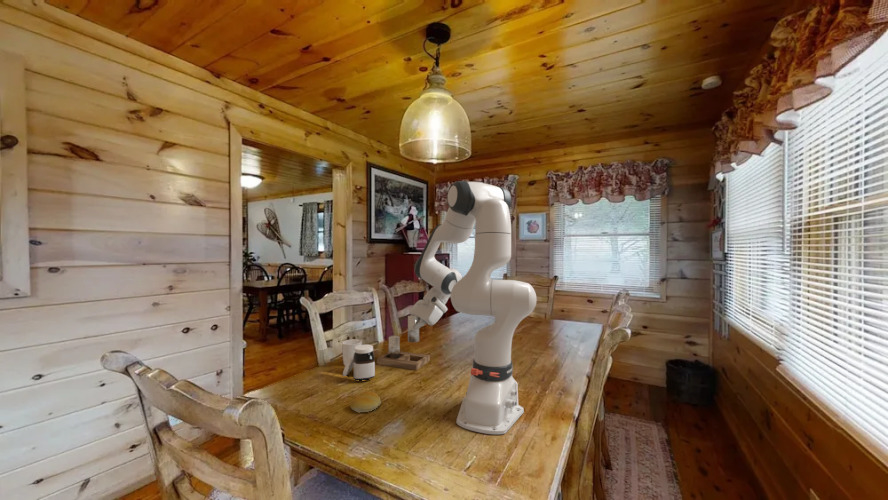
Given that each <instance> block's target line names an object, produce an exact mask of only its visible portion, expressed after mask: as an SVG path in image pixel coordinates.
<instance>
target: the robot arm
mask: <svg viewBox="0 0 888 500" xmlns="http://www.w3.org/2000/svg"><path fill="white" fill-rule="evenodd" d="M446 200H447V201H446V202H447V205H448V209H447V212H446V214H445V218H444V220H443V222H442V223H439V224H437V225H436V226H435V227H434V228H433V230H432V232H431V234H430V235H429V237H428V239H427V242H426V244H425V246H424V248H423V250H422V252H421V254H420V256H419V257H418V259H417V260H416V262H415V263H414V274H415V276H416V277H417V278H419V279H421V280H422V281H424V282H426V283H427V284H429V285H431V286H432V287H431V288H430V289H429V290H428V291H427V292H426V294H425V295H424V296H423V299H419V300H418V301H416V302H415V303H414V305H413V306H412V307H411V308H410V309H409V311H408V313H409V314H410V315H416V316H418V317H419V322H418V323H417V324H415V325H414V327H413V328H414V329H415V330H418V329H419V330H420V328H422V327H423V326H425V324H427V325H429V326H434V325H435V324H436V323H437V322H438V321H439V320H440V319H441V317H443V315H444V314H445V313H446V312H447V311H448V310H449V309H448V307H447V305H446V304H447V303H448V300H449V299H450V302H451V305H452V307H453V308H454V310H455V311H456V312H458V313H461V314H467V315H469V316H489V317H490V316H491V317H493V318H494V322H492V323H491V324H488V325H487V326H484V327H482V328H481V329H479V330H478V331H477V332H476V334H475V335H474V340H473V341H474V345H473V346H474V347H473V348H474V352H473V353H474V354H473V355H474V357H473V361H472V364H471V365H472V366H471V369H470V375H469V383H468V386H467V390H466V392H465V396H464V397H463V399H462V402H461V405H460V408H459V411H458V414H457V417H456V422H455V424H457V425H458V426H459V427H461V428H463V429H465V430H468V431H472V432H476V433H481V434H487V435H504V434H506V433H507V432H509V430H510V429H511V428H512V427H513V425H514V424H516V422H517V421H518V420H519V419H520V417H521V416H522V415H523V414H524V413H525V411H524V407H523V406H522V405H519V393H518V392H519V391H518V390H519V389H518V388H519V387H518V382H517V381H516V380H515V378H514V377H513V369H514V367H513V366H514V365H513V361H512V344H513V343H512V342H513V337H514V334H515V332H516V331H515V330H516V329H517V327H518V325H519V324H520V323H521V321H523V320H525V318H527V317H529V315H531V314H532V312H534V311H535V308H536V305H537V301H538V300H537V294H536V290H535V289H534V287H533V286H532V285H531V284H530V283H528V282H525V281H522V280H521V281H520V280H516V279H515V280H514V279H493V278H491V275H492V273H493V272H494V271H496V270H498V269H501V268H502V267H504V266H505V265H507V264H508V263H509V262H510V260H511V258H512V222H511V213H510V209H511V206H512V195H511V192H510V191H509V190H508V189H506V188H505V187H503V186H500V185H497V186H496V185H493V184H490V183H485V182H480V181H479V182H478V181H467V180H458V181H455V182H453V183H452V184H451V186H450V187H449V188H448V191H447V196H446ZM474 227H475V230H474ZM473 230H474V231H475V232H474V252H473V259H472V264H471V266H470V268H469V269H468V271H467V272H466V274H465V275H464V276H463V275H462V274H461V273H460V271H459V270H457V269H456V268H453V267H452V268H450V267H447V266H446V265H444V264H443V263H441V262H439V261H438V260H437V259H436V257H435V255H436V253H437V251H438V249H439V247H440V245H441V243H446V244H451V245H452V244H455V245H456V244H460V243H464V242H466V241H468V239H470V237H471V235H472V233H473Z"/></svg>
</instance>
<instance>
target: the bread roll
mask: <svg viewBox="0 0 888 500" xmlns="http://www.w3.org/2000/svg"><path fill="white" fill-rule="evenodd" d="M381 401H382V400H381V398H380V396H379V395H378V394H377V393H376V392H374V391H370V390H369V391H365V392H364V391H363V392H362V393H360V394H359V395H358V396H357V397H355V398H353V399H352V401H351V402H350V409H351V410H352V411H353V410H354V411H357V412H368V411H372V410H374V409H375V410H377V409H378V408H379V407H380V405H381V404H382V402H381ZM378 406H379V407H378ZM376 408H377V409H376ZM375 410H374V411H375ZM354 411H353V412H354ZM372 412H373V411H372ZM368 413H369V412H368Z"/></svg>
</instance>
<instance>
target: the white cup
mask: <svg viewBox="0 0 888 500" xmlns="http://www.w3.org/2000/svg"><path fill="white" fill-rule="evenodd" d="M358 345H363V341H362V340H361V339H359V338H358V339H356V338H355V339H353V338H352V339H351V338H350V339H346V340H343V341H341V347H342V348H341V349H342V361H343V365H344V367H345V366H346V364H347V362H348V360H349V359H350V358H352V359H353V355H354V353H355V351H354V348H355V347H356V346H358Z"/></svg>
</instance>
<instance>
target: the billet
mask: <svg viewBox="0 0 888 500" xmlns="http://www.w3.org/2000/svg"><path fill="white" fill-rule="evenodd" d="M418 322H420V320H419V317H418V316H416V315H411V314H410V315H408V316H407V342H408V343H418V342H420V328H419V329H418V330H415V329H414V328H413V327H414V325H415V324H417V323H418Z"/></svg>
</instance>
